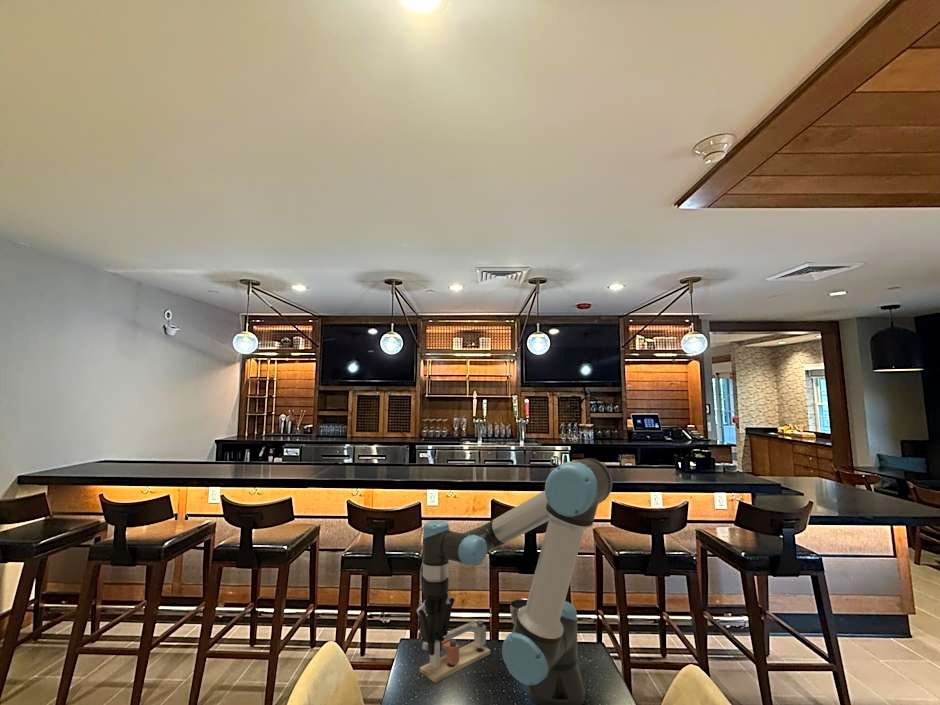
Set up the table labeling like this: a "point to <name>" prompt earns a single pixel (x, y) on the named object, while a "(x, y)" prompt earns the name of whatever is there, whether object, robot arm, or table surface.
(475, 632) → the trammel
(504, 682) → the table surface
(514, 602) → the wine glass
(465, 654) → the bolt plate
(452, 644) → the slide leg
